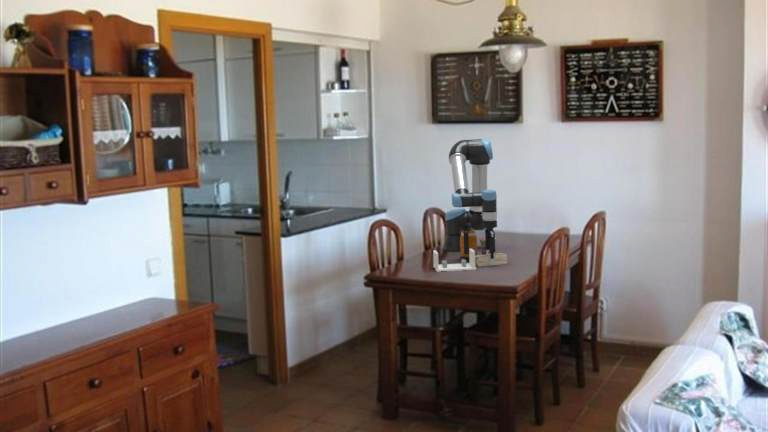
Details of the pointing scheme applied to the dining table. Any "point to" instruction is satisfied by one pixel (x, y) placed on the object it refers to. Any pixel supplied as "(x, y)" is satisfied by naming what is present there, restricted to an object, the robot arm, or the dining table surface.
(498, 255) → the cream long box
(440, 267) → the cradle
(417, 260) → the dining table surface
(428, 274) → the dining table surface
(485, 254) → the mug
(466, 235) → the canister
